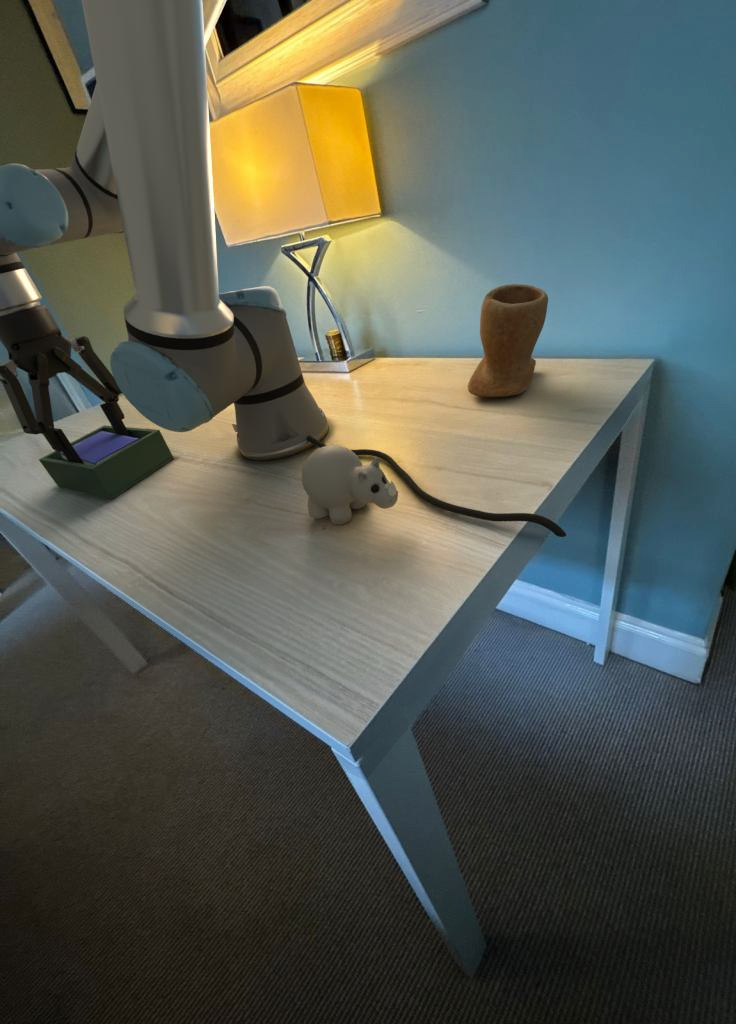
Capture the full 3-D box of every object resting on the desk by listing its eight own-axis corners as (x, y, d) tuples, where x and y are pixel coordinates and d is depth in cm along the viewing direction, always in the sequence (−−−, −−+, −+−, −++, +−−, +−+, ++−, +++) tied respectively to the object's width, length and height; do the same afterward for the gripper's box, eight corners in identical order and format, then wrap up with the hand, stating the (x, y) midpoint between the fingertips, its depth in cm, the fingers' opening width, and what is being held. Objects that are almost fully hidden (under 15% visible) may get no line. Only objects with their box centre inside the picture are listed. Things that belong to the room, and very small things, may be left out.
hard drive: (58, 452, 74) (93, 462, 68) (102, 430, 79) (139, 437, 73) (64, 460, 75) (99, 470, 69) (107, 437, 80) (144, 445, 74)
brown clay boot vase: (539, 403, 66) (542, 295, 57) (461, 403, 71) (453, 305, 63) (552, 366, 76) (556, 270, 68) (483, 369, 82) (479, 280, 73)
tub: (174, 458, 77) (159, 429, 73) (112, 499, 68) (92, 468, 65) (119, 451, 85) (104, 425, 82) (58, 487, 77) (38, 459, 73)
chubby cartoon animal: (383, 546, 46) (368, 478, 41) (302, 521, 53) (280, 460, 48) (417, 508, 50) (407, 442, 46) (338, 489, 57) (321, 430, 52)
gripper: (71, 292, 70) (141, 422, 83) (-82, 335, 56) (31, 483, 69) (97, 287, 66) (166, 424, 79) (-60, 332, 52) (54, 489, 65)
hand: (103, 451), depth 74 cm, fingers closed on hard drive, 8 cm apart
